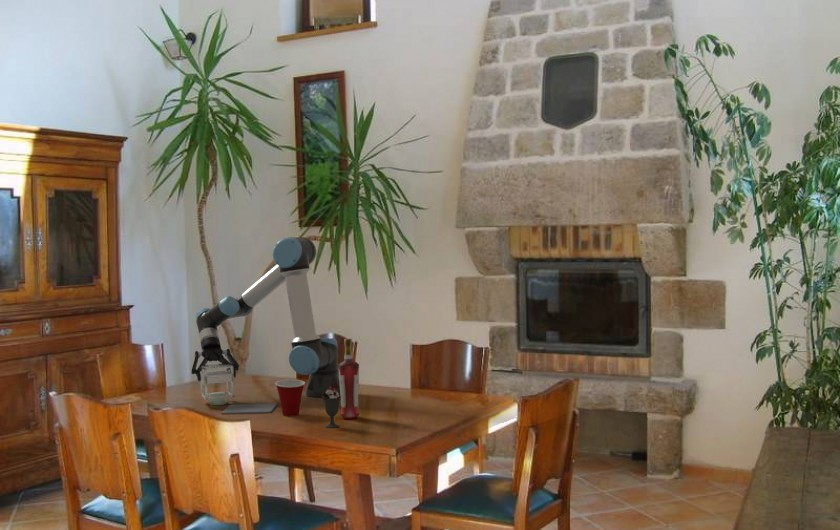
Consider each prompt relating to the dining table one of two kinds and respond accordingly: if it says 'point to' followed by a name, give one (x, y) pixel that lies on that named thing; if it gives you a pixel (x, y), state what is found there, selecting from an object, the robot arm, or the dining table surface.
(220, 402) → the soap bar
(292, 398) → the plastic cup
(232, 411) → the mat
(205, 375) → the clear glass cube
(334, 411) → the sundae
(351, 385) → the liquor
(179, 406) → the dining table surface
